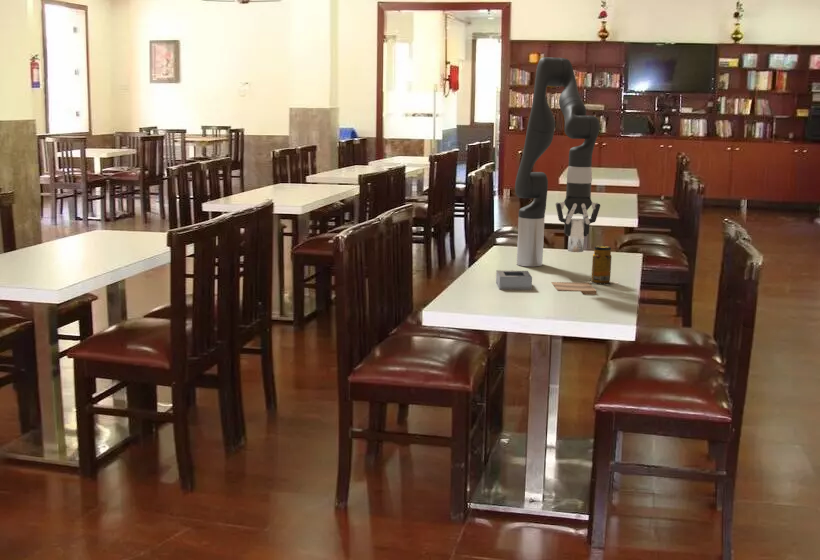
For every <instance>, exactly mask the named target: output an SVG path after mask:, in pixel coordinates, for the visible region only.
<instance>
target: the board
mask: <svg viewBox="0 0 820 560" xmlns="http://www.w3.org/2000/svg"><path fill="white" fill-rule="evenodd" d="M551 284H552V285H553V287H554V288H555V290H556V291H557V292H580V293H581V294H582V295H597V290H596V288H594V286H593V285H591V283H588V282H573V281H570V282H565V281H562V282H561V281H560V282H559V281H557V282H556V281H552V282H551Z"/></svg>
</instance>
